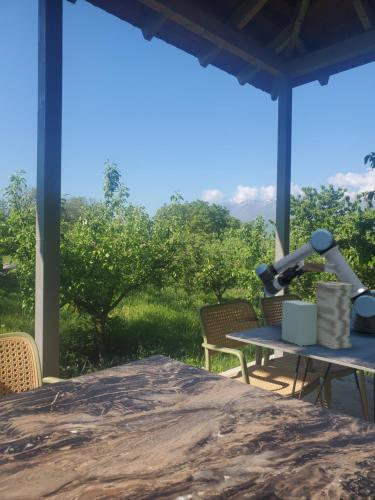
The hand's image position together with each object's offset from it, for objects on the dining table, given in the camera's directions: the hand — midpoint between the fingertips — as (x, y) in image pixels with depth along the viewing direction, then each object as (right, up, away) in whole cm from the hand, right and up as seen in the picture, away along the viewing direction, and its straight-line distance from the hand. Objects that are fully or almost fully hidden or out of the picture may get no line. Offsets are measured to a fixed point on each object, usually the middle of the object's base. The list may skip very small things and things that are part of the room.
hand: (306, 263), depth 210 cm
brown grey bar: (+3, -4, -7) cm, 8 cm away
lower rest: (-8, -39, -13) cm, 42 cm away
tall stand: (+7, -39, -17) cm, 43 cm away
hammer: (+35, -39, +47) cm, 71 cm away
